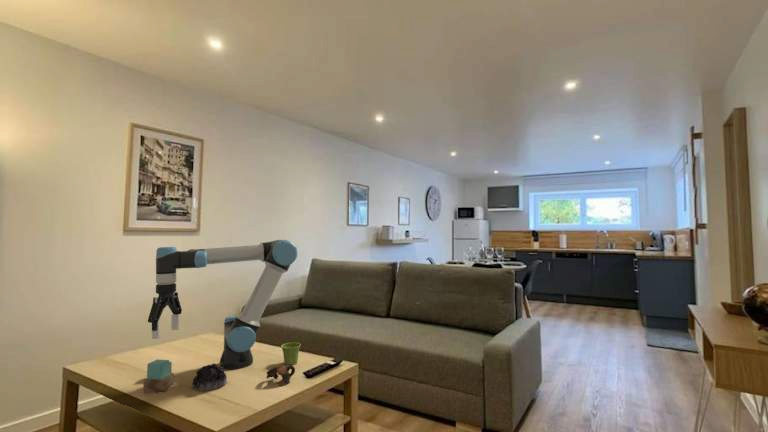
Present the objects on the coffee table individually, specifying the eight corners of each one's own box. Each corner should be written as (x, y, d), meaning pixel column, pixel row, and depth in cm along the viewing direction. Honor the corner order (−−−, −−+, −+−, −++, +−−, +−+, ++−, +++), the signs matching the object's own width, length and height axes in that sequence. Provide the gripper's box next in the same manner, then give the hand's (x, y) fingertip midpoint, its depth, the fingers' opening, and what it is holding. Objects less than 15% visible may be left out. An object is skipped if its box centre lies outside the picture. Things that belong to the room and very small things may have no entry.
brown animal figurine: (274, 390, 156) (266, 371, 158) (269, 393, 163) (262, 374, 165) (300, 376, 163) (293, 357, 165) (295, 379, 170) (287, 361, 172)
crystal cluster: (203, 380, 167) (201, 357, 166) (234, 378, 166) (231, 355, 166) (186, 396, 153) (184, 371, 153) (220, 393, 153) (217, 368, 153)
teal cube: (168, 374, 159) (169, 360, 159) (159, 379, 153) (160, 364, 153) (156, 374, 159) (156, 359, 160) (147, 379, 154) (147, 363, 154)
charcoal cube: (171, 375, 171) (171, 361, 171) (165, 380, 165) (166, 365, 166) (158, 375, 170) (158, 362, 170) (152, 380, 165) (152, 366, 165)
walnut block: (173, 385, 160) (173, 373, 160) (164, 393, 152) (164, 380, 153) (153, 385, 160) (153, 373, 160) (143, 393, 152) (143, 381, 152)
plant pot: (276, 364, 184) (277, 346, 184) (288, 358, 193) (288, 341, 193) (293, 367, 181) (293, 348, 181) (304, 361, 189) (304, 343, 190)
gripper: (174, 279, 174) (173, 326, 173) (137, 287, 149) (137, 342, 148) (190, 279, 174) (190, 326, 173) (156, 287, 149) (156, 342, 148)
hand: (165, 333), depth 161 cm, fingers open, 13 cm apart
